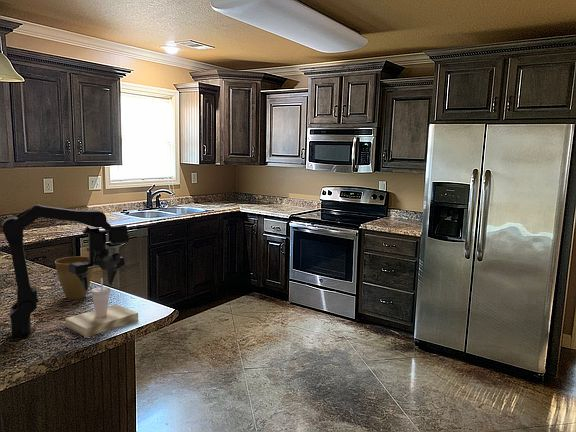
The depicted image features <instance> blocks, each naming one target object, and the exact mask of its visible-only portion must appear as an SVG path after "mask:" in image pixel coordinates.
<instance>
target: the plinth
mask: <svg viewBox="0 0 576 432" xmlns="http://www.w3.org/2000/svg"><path fill="white" fill-rule="evenodd" d="M138 321H139V312H138V311H135V310H132V309H130V308H128V307H125V306H122V305H120V304H118V303H117V304H113V305H108V308H107V315H106V316H105V317H96V315H95V309H94V310H92V311H87V312H83V313H80V314H77V315H76V314H75V315H72V316H70V317H66V318H64V323H65V324H64V326H65V327H66V328H67V329H70V330H71V331H73V332H75V333H77V334H80V335H81V336H84V337H85V338H87V337H91V336H94V335H97V334H100V333H104V332H107V331H110V330H113V329H117V328H119V327H122V326H126V325H129V324H133V323H136V322H138Z"/></svg>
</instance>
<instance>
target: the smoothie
mask: <svg viewBox="0 0 576 432" xmlns="http://www.w3.org/2000/svg"><path fill="white" fill-rule="evenodd" d="M103 283H104V282H103V277H100V287H99V286H98V287H95V288H92V289H91V290H90V294H91V295H92V302H93V308H94V310H95V315H96V317H105V316H106V315H107V308H108V307H109V298H110V293H111V288H110V287H107V286H106V287H105V286H104V284H103Z"/></svg>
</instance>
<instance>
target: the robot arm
mask: <svg viewBox="0 0 576 432" xmlns="http://www.w3.org/2000/svg"><path fill="white" fill-rule="evenodd" d="M38 218H42V219H43V218H45V219H53V220H59V221H66V222H67V221H69V222H76V223H80V224H83V225H86V227H85V228H84V229H83V230H82V231H81V233H82V234H83V235H87V236H88V238H87V239H88V247H86V251H87V252H88V257H89V259H87V262H89V263H88V264H84V263H81V262H77V263H71V264H70V265H69V267H68V271H69V272H71V273H73V274H76V275H77V277H78V278H79V280H80V282H81V284H82V286H83V288H84V289H85V291H87V292H88V290H89V287H88V284H87V276H88V274H89V273H86V272H87V271H88V269H90V268H93V269H94V268H100V269H101V270H104V271H107V273H106V274H107V281H108V285H109V286H112V284H113V282H114V279H115V277H116V274H117V272H118V271H119V270H120V269H122V268H123V266H126V259H125V257H123V256H121V255H120V254H119V252H116V253H110V252H109V248H108V247H107V242H109V243H110V244H111V245H123V244H124V245H125V244H129V239H130V238H129V237H130V235H129V232H128V226H127V224H121V225H111V223H109V222H108V221H107V216H106V214H105V213H104V212H103V211H101V210H100V209H78V210H76V209H72V208H71V209H70V208H69V209H68V208H62V207H55V206H49V205H42V204H39V203H38V204H37V203H36V204H32V206H31V207H29V208H27V209H25V210H23V211H22V212H20V213H19V214H17V215H16V216H8V217H7V218H6V219H4V220H3V222H2V226H1V228H2V229H1V230H2V232H3V234H4V238H5V239H6V241H7V244H8V245H9V248H10V254H11V260H12V266H13V271H14V275H15V281H16V282H15V283H16V287H17V288H16V290H17V291H16V302H14V304H13V305H12V306H11V307H10V308H9V318H10V331H11V332H10V333H9V334H8V335H7V336H6V338H7V339H10V338H11V339H12V338H14V339H15V338H28V337H29V336H31V335H32V334H33V333H34V332H36V328H32V322H31V321H32V318H31V314H32V313H33V312H34V311H35V310H36V309H37V308H38V304H39V303H40V301H39V299H40V298H39V295H38V289H37V288H38V287H37V286H33V287H32V285H31V282H30V278H29V273H28V266H27V261H26V260H27V259H26V256H25V255H26V254H25V249H24V229H25V228H26V227H27V226H29V225H30V224H32V223H34V221H36V220H38ZM100 228H101V229H100Z"/></svg>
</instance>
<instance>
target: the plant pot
mask: <svg viewBox="0 0 576 432" xmlns="http://www.w3.org/2000/svg"><path fill="white" fill-rule="evenodd" d="M87 259H89V256H85V255H84V256H82V255H81V256H67V257H62V258H61V257H60V258H58V259H56V260H55V261H54V265H55V270H56V273H57V274H56V275H57V276H58V277H57V278H58V280H59V283H60V284H59V285H60V286H61V289H62V291H63V293H64V295H65V297H66V298H67V299H68V300H77V299H82V298H85V296H86V295H87V293H88V290H87V291H85V289H84V288H83V286H82V284H81V282H80V280H79V278H78V277H77V275H76V274H73V273H71V272H69V271H68V267H69V265H70V264H71V263H77V262H81V263H84V264H88V263H89V262H87ZM93 270H94V268H90V269H88V271H87V272H86V273H89V274H88V276H87V284H88V288H90V287H89V286H90V283H91V281H92V275H93Z"/></svg>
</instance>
